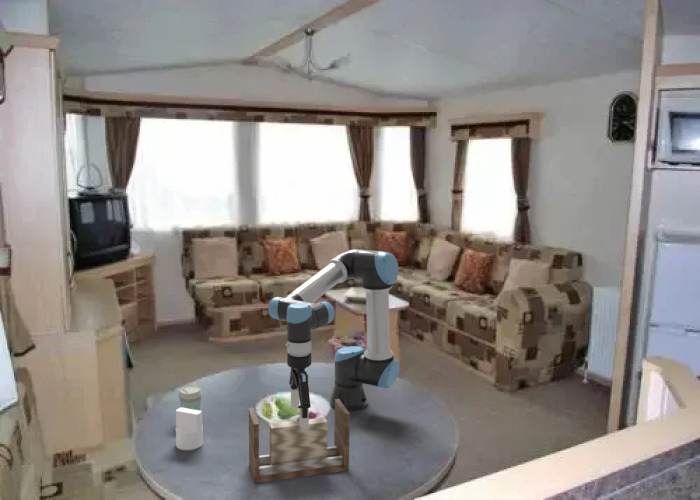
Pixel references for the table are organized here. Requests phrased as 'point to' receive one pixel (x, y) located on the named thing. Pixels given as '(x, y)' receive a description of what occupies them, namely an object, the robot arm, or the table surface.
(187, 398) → the coffee cup
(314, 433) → the door panel
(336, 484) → the table surface
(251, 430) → the wooden rack
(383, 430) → the table surface
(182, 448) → the white block
